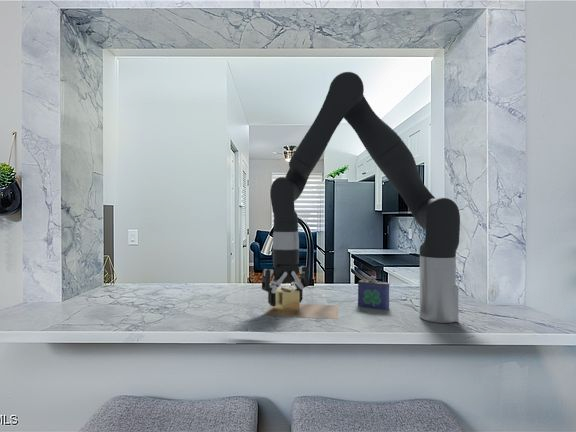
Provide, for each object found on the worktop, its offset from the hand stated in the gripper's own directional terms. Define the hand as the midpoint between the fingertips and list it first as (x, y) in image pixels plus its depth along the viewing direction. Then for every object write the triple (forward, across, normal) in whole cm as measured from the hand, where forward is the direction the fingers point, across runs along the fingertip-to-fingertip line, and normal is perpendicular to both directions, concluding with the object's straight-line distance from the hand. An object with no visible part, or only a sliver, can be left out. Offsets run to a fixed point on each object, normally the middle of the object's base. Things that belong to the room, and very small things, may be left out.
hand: (285, 303), depth 100 cm
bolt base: (+3, +4, -3) cm, 6 cm away
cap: (+2, 0, 0) cm, 2 cm away
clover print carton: (+3, +24, -11) cm, 26 cm away
